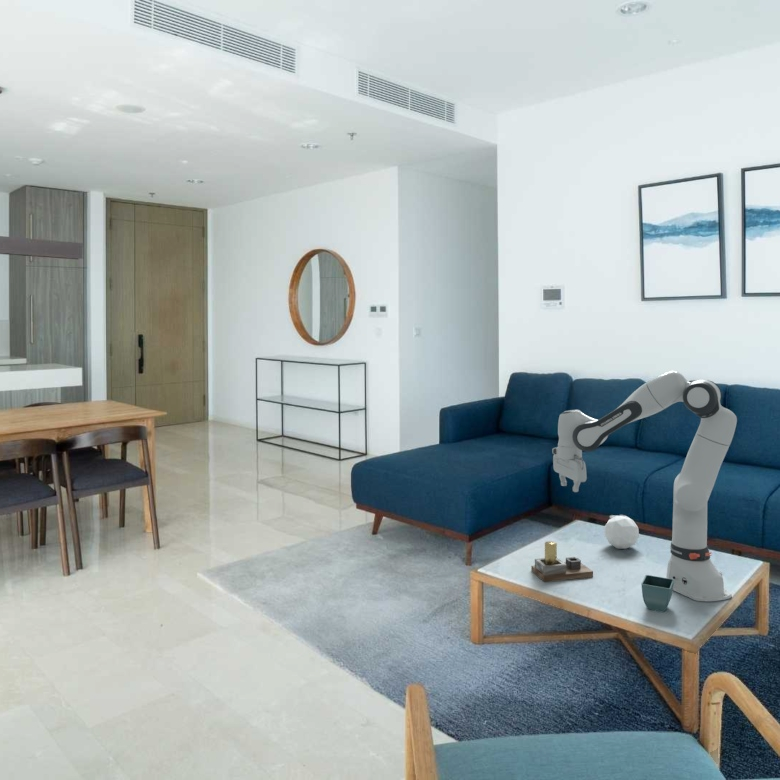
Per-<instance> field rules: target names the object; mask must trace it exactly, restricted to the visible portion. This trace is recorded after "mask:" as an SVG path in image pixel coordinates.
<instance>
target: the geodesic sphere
mask: <svg viewBox="0 0 780 780" xmlns="http://www.w3.org/2000/svg"><path fill="white" fill-rule="evenodd" d="M603 528H604V529H603V530H604V537H605V538H606V540H607V542H608V544H610V545H611V546H613V547H615V548H616V549H618V550H619V549H620V550H622V549H628V548H631V547H633V546H635V545H636V543H637V541H638V540H639V538H640V533H639V532H640V531H639V527H638V525H637V524H636V522H635V521H634V519H632V518H630V517H629V516H627V515H624V514H622V513H621V514H620V515H613V514H611V515H609V519H608V521H607V523H605V525H604V527H603Z"/></svg>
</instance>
